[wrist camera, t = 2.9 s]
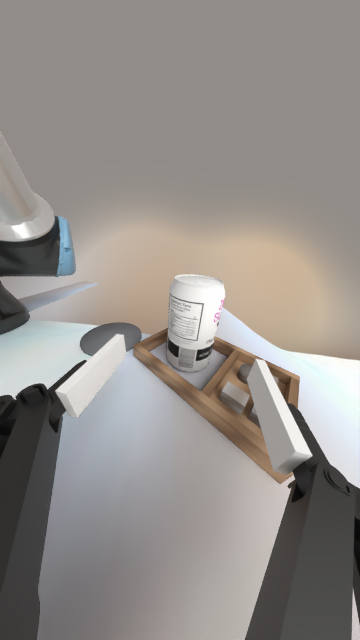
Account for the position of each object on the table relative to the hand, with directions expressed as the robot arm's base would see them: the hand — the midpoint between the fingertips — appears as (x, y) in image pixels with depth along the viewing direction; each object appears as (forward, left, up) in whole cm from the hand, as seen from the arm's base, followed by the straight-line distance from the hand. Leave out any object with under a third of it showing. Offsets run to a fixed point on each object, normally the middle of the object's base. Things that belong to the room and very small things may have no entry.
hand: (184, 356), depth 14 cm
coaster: (-20, +1, -9) cm, 22 cm away
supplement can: (-5, +8, -9) cm, 14 cm away
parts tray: (0, +8, -9) cm, 13 cm away
